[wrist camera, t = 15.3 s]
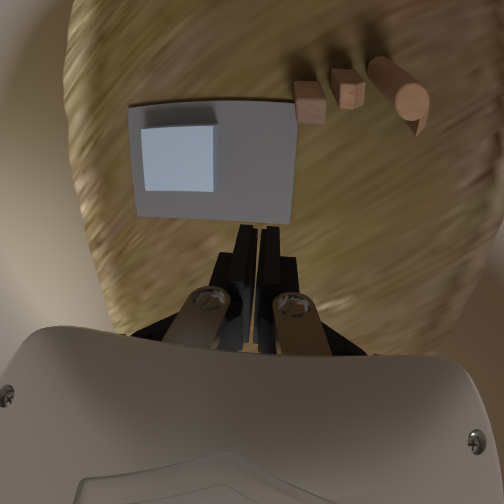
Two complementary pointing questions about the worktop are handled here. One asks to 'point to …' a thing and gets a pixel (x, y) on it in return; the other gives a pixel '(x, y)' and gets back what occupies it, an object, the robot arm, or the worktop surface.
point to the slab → (180, 157)
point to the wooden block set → (353, 89)
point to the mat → (226, 161)
